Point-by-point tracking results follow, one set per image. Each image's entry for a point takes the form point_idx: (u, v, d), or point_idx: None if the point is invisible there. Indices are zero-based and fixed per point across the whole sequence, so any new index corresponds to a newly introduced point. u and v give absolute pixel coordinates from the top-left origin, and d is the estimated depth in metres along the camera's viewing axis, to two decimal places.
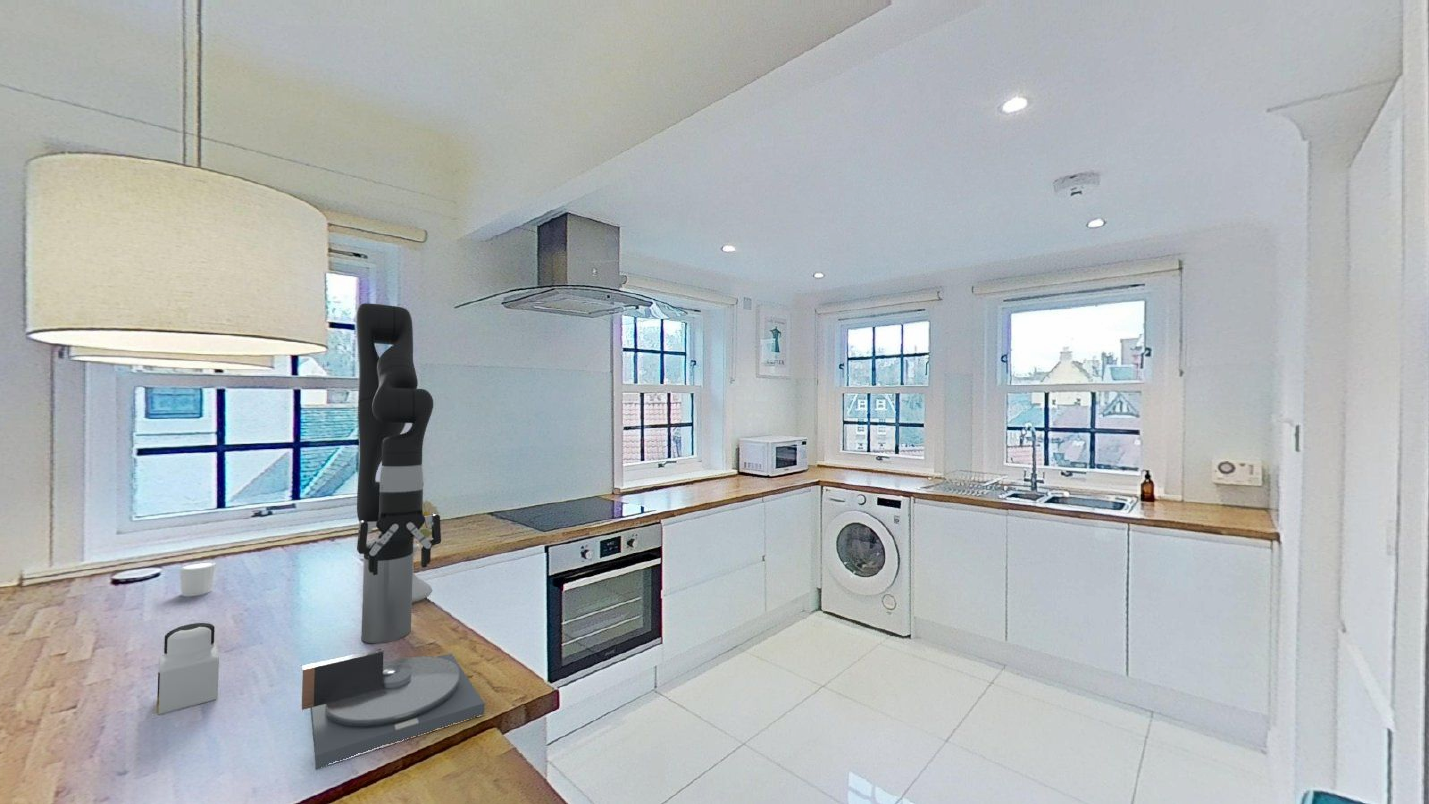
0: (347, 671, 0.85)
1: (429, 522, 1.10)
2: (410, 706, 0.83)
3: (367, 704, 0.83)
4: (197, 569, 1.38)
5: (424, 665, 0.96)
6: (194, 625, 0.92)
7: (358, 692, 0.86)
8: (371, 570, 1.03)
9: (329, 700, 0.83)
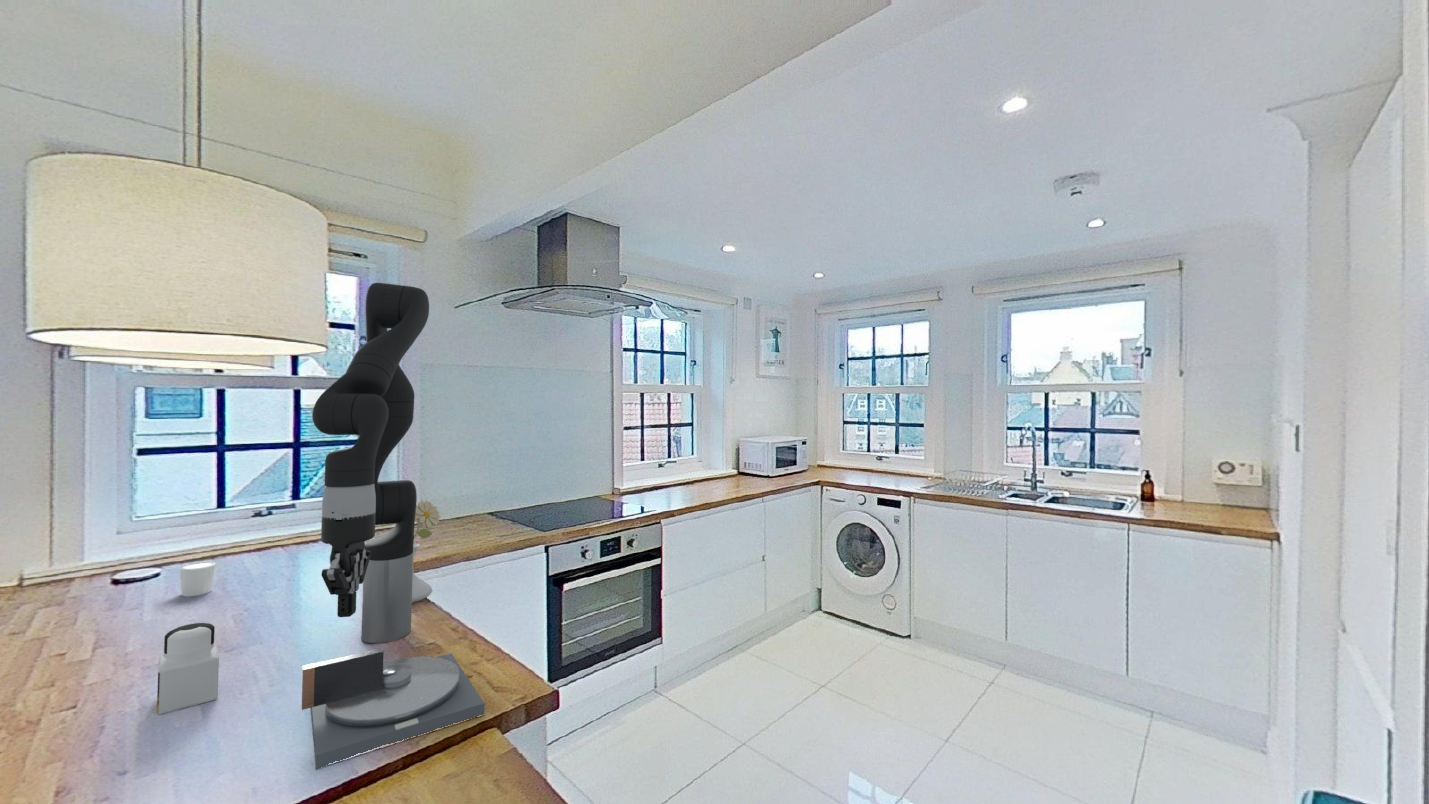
0: (347, 671, 0.85)
1: None
2: (410, 706, 0.83)
3: (367, 704, 0.83)
4: (197, 569, 1.38)
5: (424, 665, 0.96)
6: (194, 625, 0.92)
7: (358, 692, 0.86)
8: (348, 611, 0.90)
9: (329, 700, 0.83)
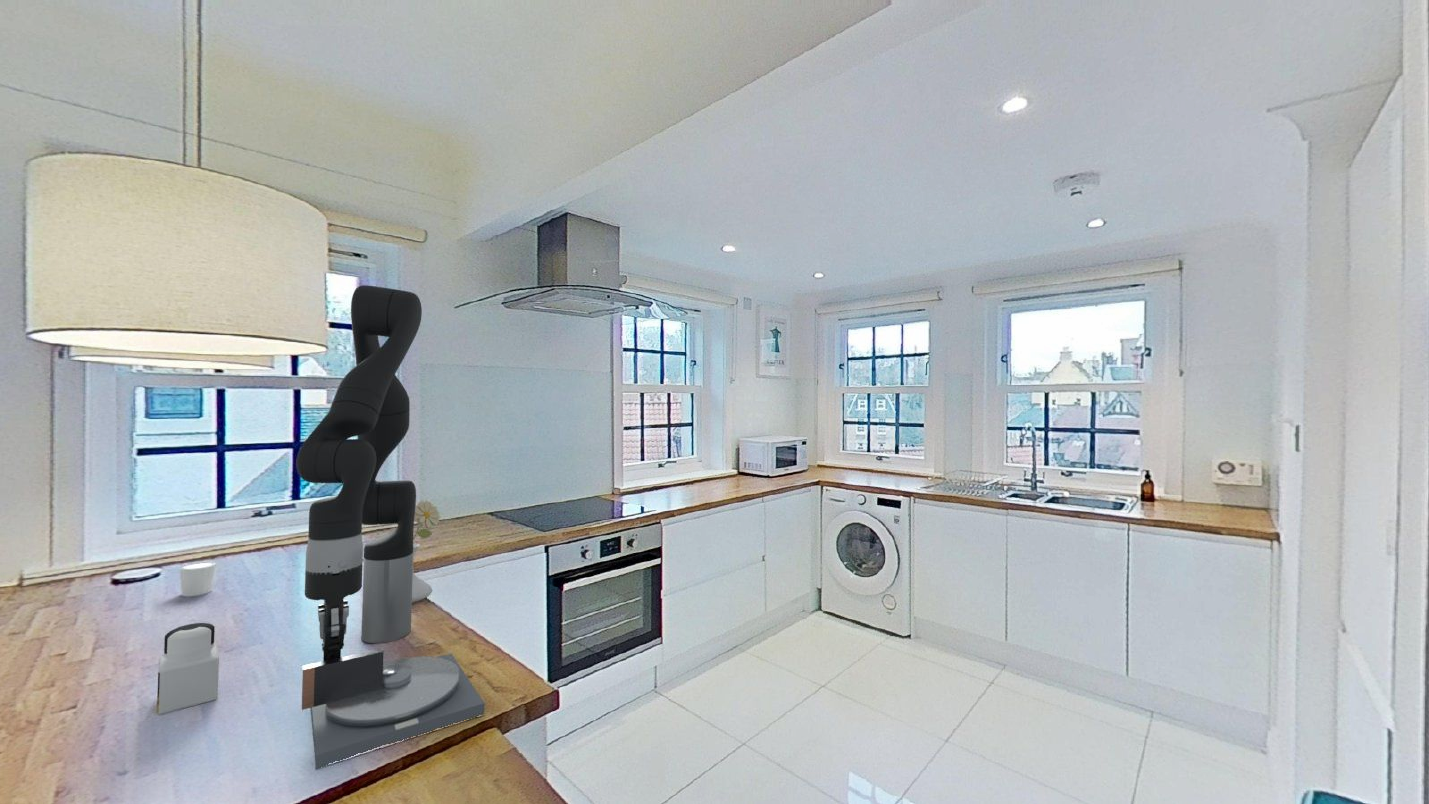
0: (347, 671, 0.85)
1: None
2: (410, 706, 0.83)
3: (367, 704, 0.83)
4: (197, 569, 1.38)
5: (424, 665, 0.96)
6: (194, 625, 0.91)
7: (358, 692, 0.86)
8: None
9: (329, 700, 0.83)
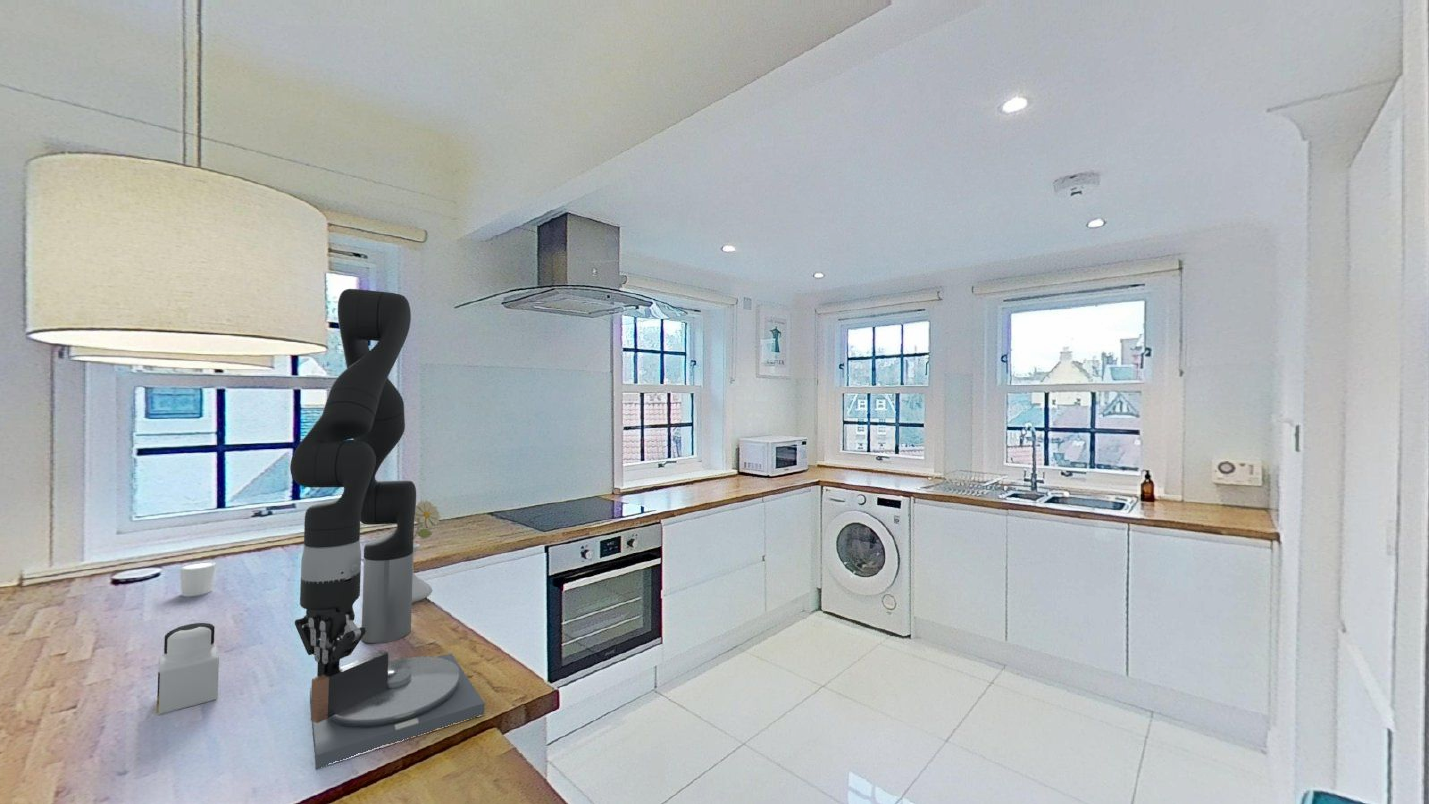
0: (357, 677, 0.83)
1: None
2: (437, 694, 0.86)
3: (387, 703, 0.84)
4: (197, 569, 1.38)
5: (407, 665, 0.96)
6: (194, 625, 0.91)
7: (367, 697, 0.84)
8: None
9: (341, 709, 0.81)
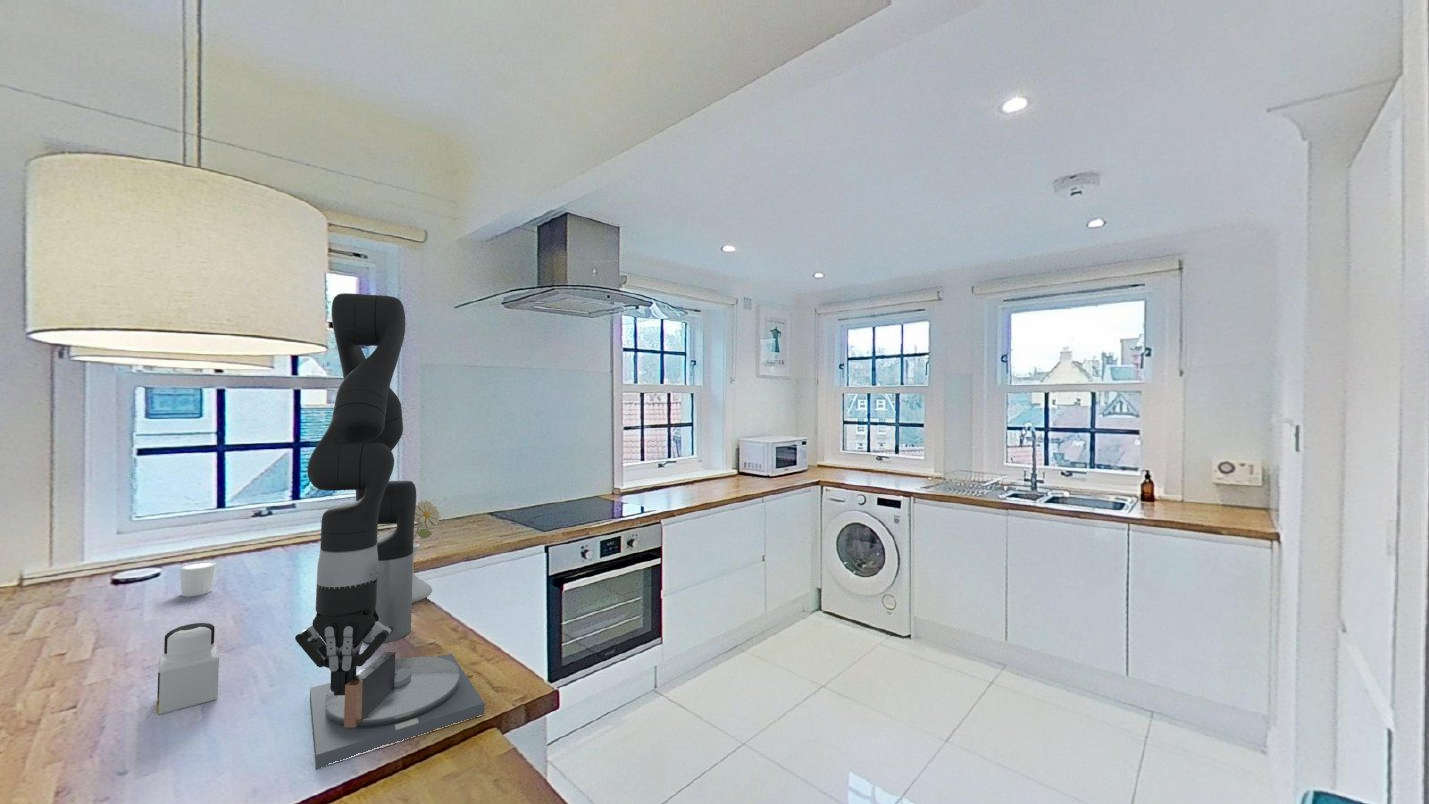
0: (378, 678, 0.83)
1: None
2: (453, 680, 0.91)
3: (410, 697, 0.85)
4: (197, 569, 1.38)
5: None
6: (194, 625, 0.92)
7: (383, 697, 0.84)
8: None
9: (369, 711, 0.81)
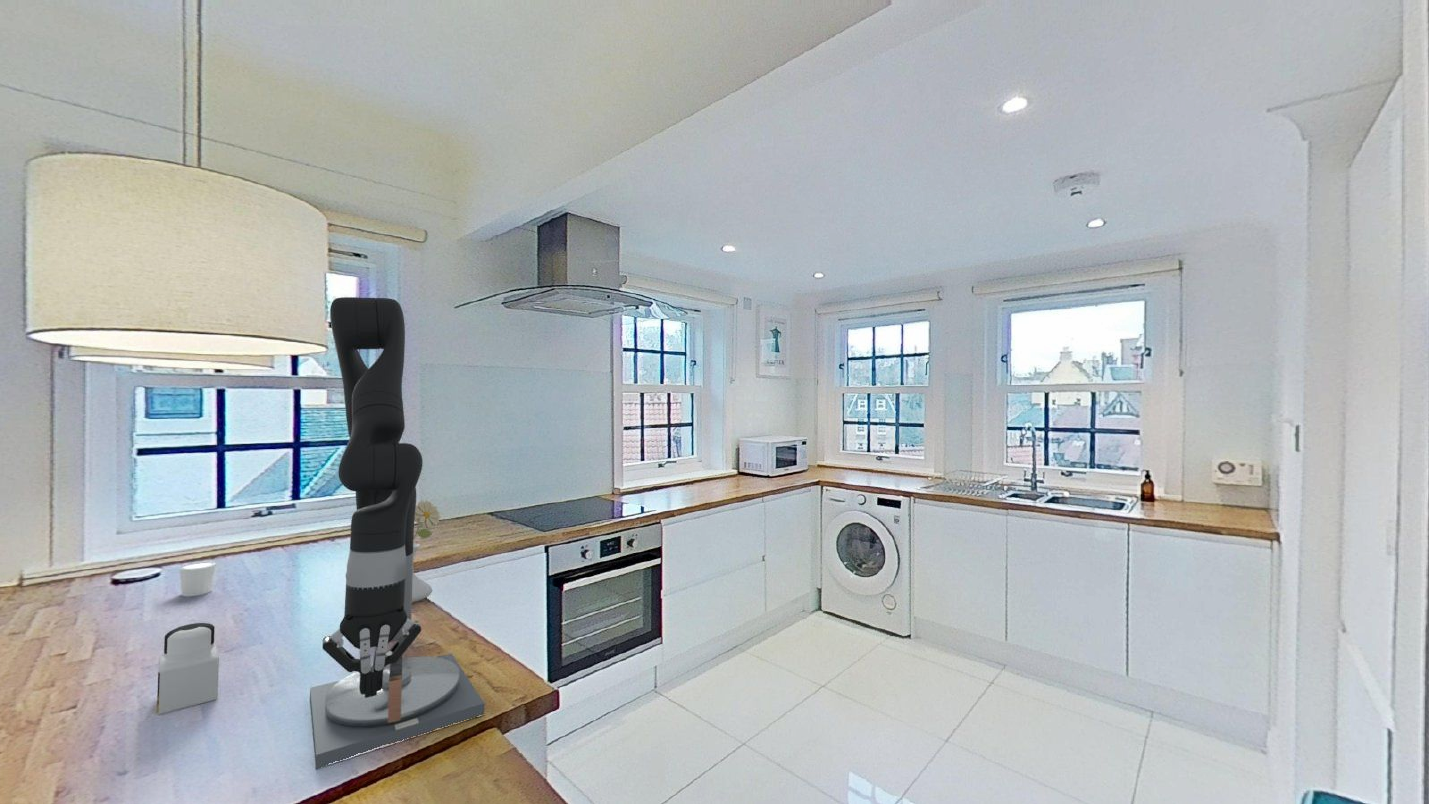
0: None
1: None
2: (456, 669, 0.95)
3: (427, 689, 0.88)
4: (197, 569, 1.38)
5: None
6: (194, 625, 0.92)
7: (401, 694, 0.85)
8: None
9: (400, 706, 0.82)
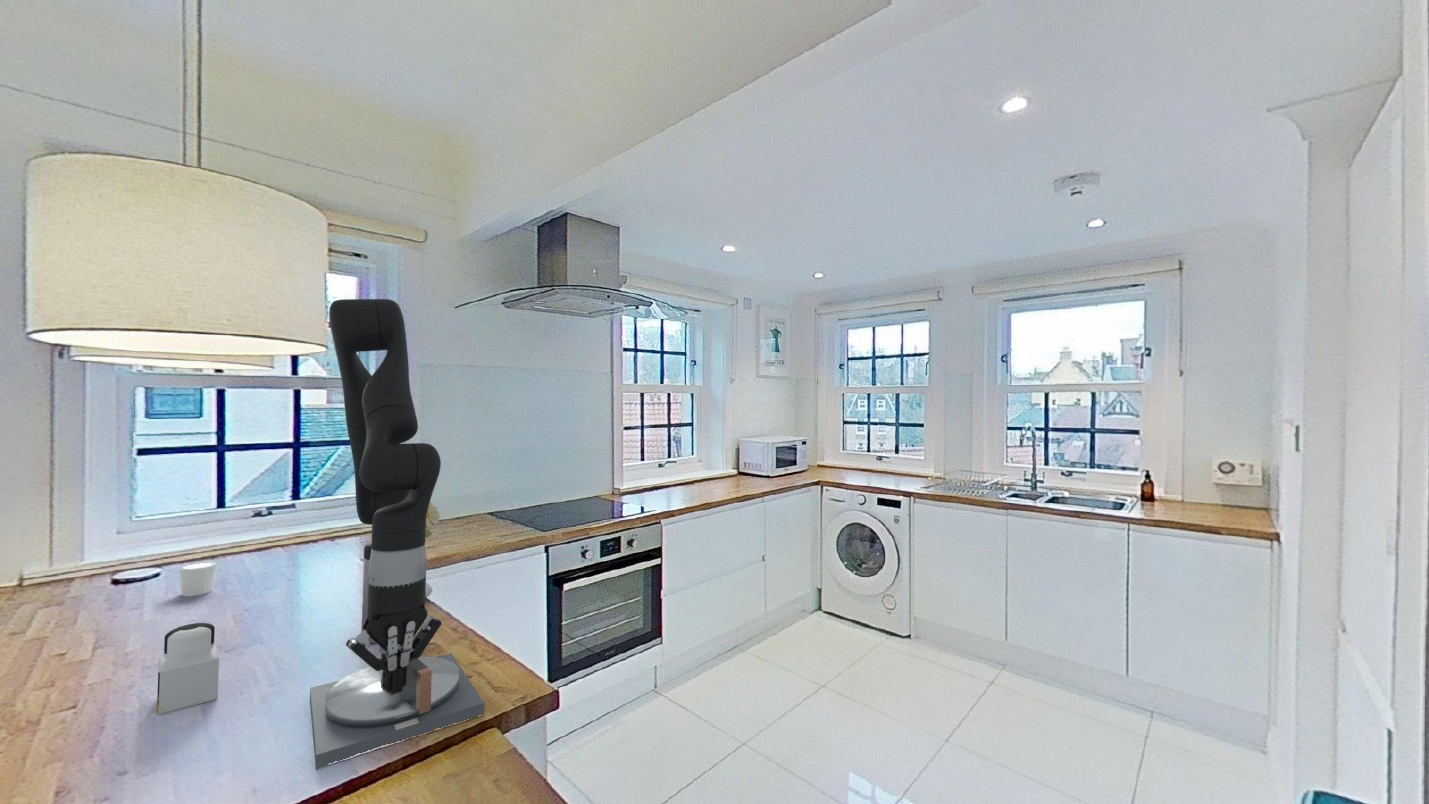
0: None
1: None
2: (450, 663, 0.97)
3: (435, 682, 0.90)
4: (197, 569, 1.38)
5: (359, 681, 0.90)
6: (194, 625, 0.91)
7: None
8: None
9: None
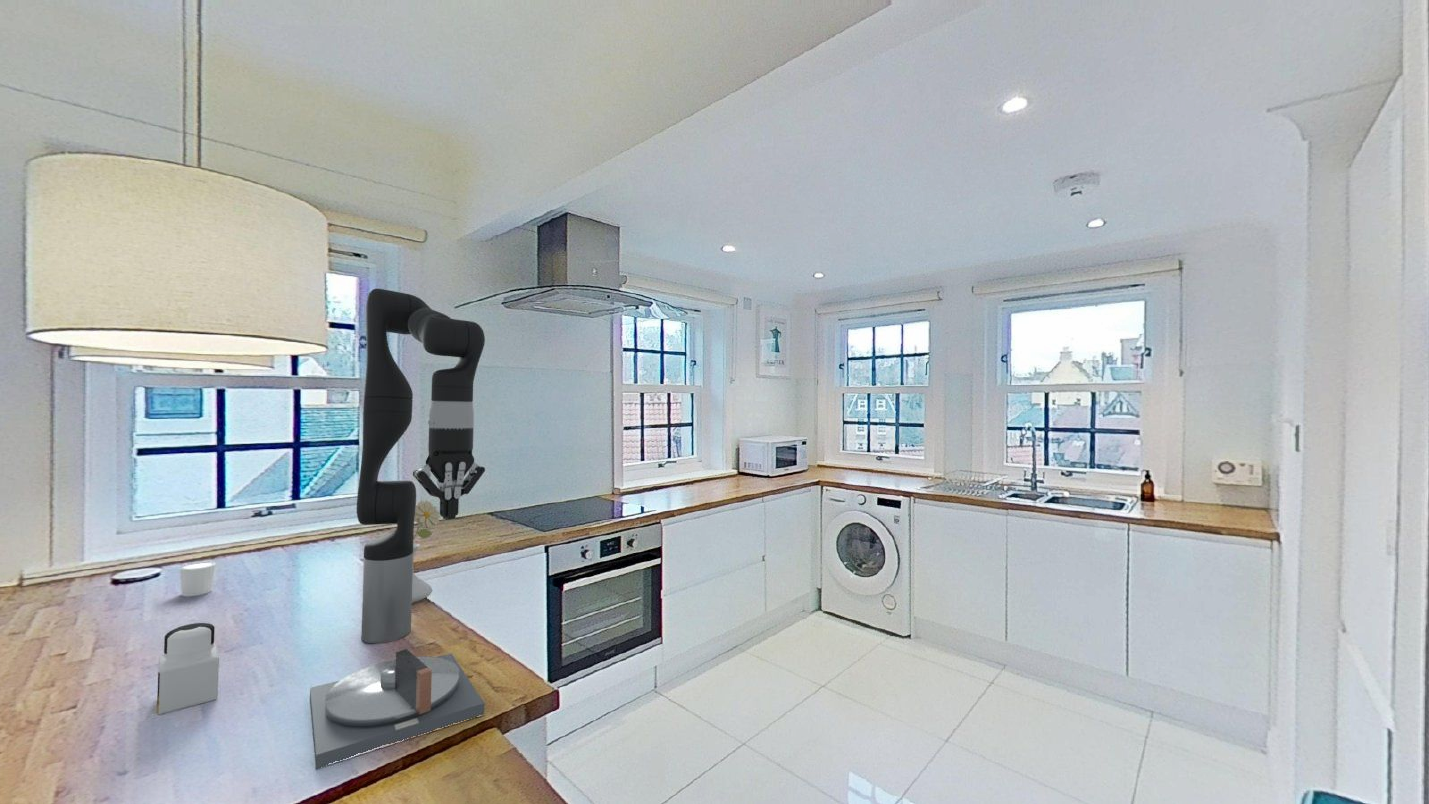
0: None
1: None
2: (450, 663, 0.97)
3: (435, 682, 0.90)
4: (197, 569, 1.38)
5: (359, 681, 0.90)
6: (194, 625, 0.92)
7: None
8: None
9: None
